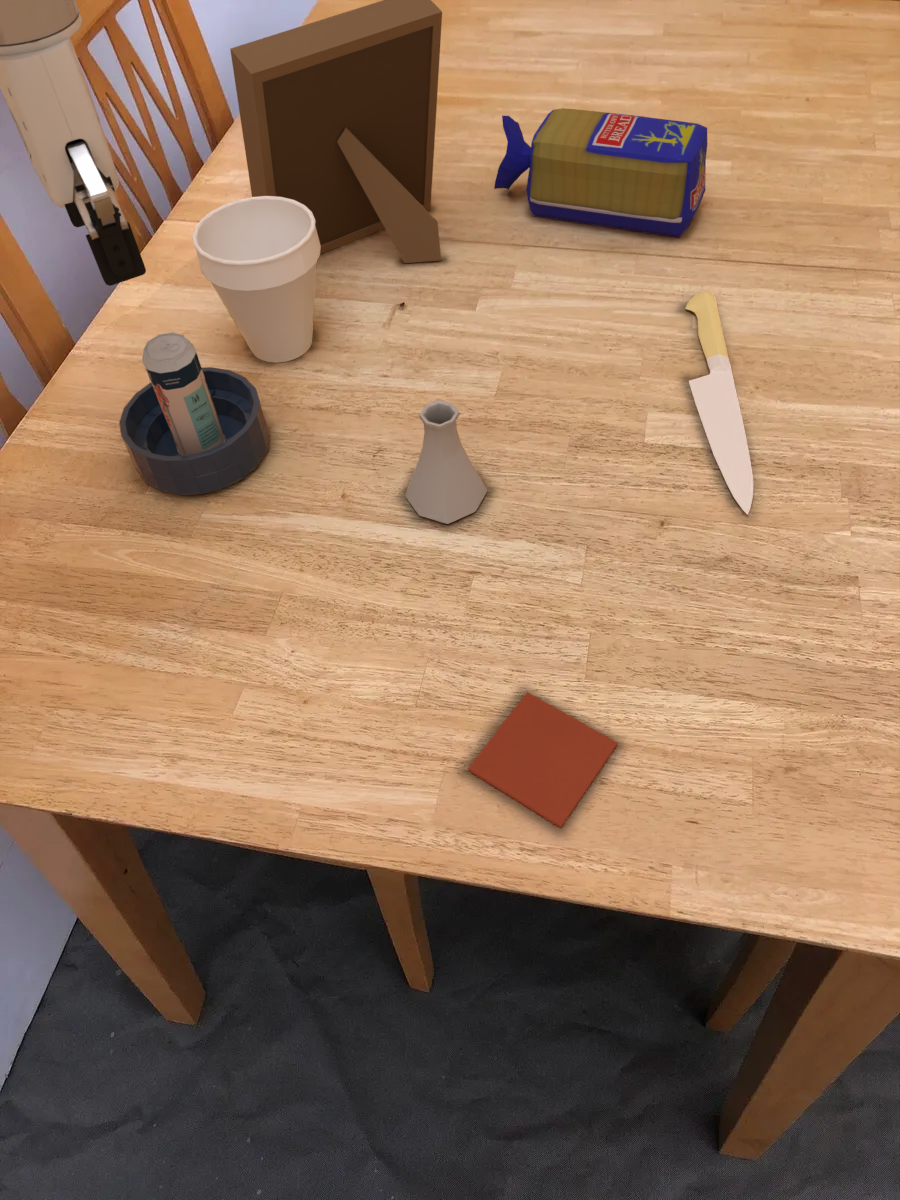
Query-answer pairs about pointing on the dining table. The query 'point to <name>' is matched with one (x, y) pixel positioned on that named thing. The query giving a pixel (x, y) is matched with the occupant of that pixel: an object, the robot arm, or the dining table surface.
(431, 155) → the photo frame
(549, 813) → the mat
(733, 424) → the knife
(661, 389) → the dining table surface
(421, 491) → the flask
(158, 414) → the bowl
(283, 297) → the cup
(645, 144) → the bread
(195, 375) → the beer can
